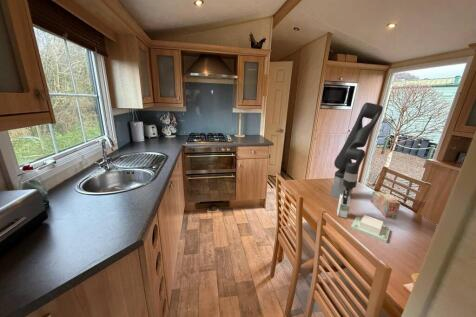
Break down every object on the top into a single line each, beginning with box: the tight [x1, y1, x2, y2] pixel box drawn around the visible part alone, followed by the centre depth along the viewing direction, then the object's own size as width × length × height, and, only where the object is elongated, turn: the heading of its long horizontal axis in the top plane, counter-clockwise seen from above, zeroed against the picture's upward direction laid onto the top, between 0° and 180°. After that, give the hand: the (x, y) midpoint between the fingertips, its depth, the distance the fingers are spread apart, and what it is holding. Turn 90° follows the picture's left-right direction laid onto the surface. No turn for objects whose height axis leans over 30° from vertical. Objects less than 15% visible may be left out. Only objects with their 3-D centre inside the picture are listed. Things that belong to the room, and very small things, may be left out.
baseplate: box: [350, 214, 391, 243], centre depth 116 cm, size 18×14×6 cm
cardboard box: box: [370, 190, 401, 220], centre depth 135 cm, size 21×6×12 cm, turn 170°
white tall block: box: [336, 194, 352, 219], centre depth 128 cm, size 6×6×14 cm
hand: (346, 201), depth 126 cm, fingers open, 8 cm apart
